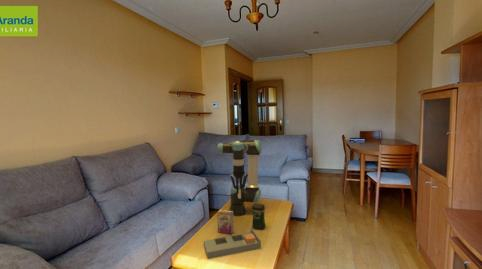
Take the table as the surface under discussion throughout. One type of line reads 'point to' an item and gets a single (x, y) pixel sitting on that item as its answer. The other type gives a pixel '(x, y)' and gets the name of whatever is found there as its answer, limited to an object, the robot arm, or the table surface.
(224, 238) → the block
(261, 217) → the coffee jar
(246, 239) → the block
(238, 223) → the table surface
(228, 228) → the candy bar box
